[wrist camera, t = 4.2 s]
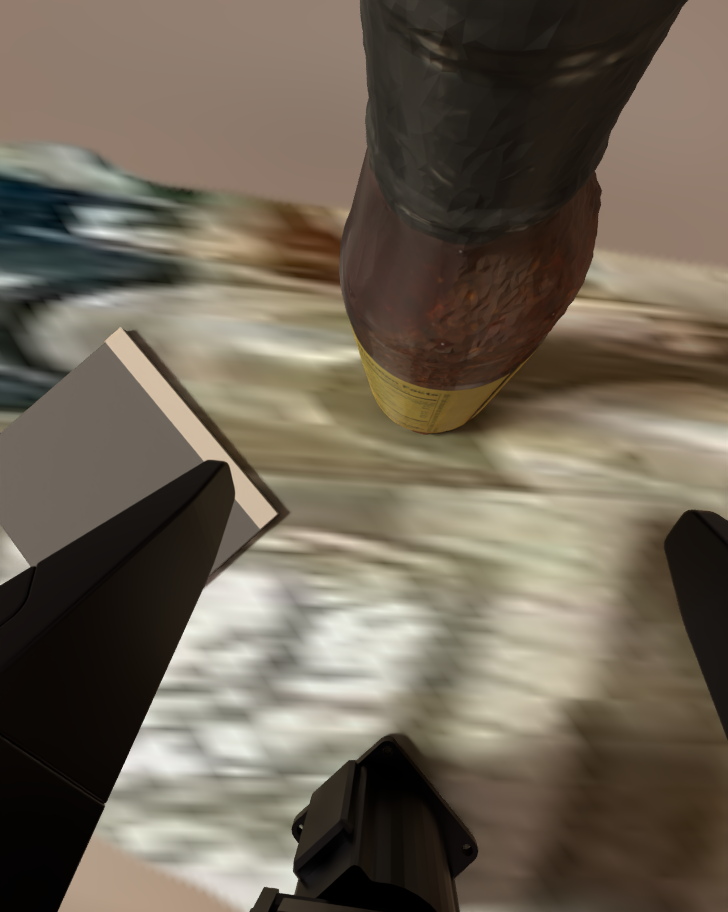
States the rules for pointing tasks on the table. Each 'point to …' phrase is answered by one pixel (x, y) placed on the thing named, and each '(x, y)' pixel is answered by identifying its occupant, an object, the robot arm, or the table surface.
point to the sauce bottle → (480, 186)
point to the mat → (109, 454)
